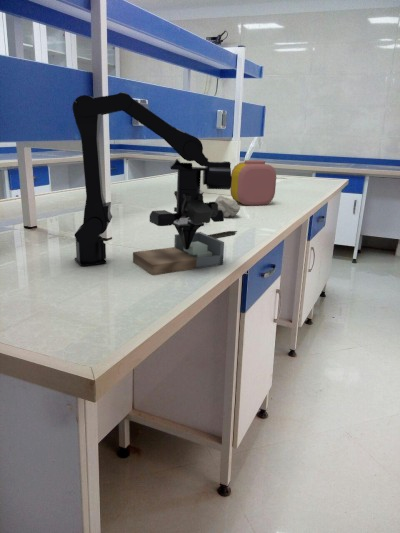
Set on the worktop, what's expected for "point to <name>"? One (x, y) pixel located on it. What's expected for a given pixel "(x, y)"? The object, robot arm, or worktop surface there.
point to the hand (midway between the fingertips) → (186, 249)
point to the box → (213, 246)
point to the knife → (222, 234)
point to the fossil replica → (227, 206)
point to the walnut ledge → (164, 260)
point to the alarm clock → (253, 183)
